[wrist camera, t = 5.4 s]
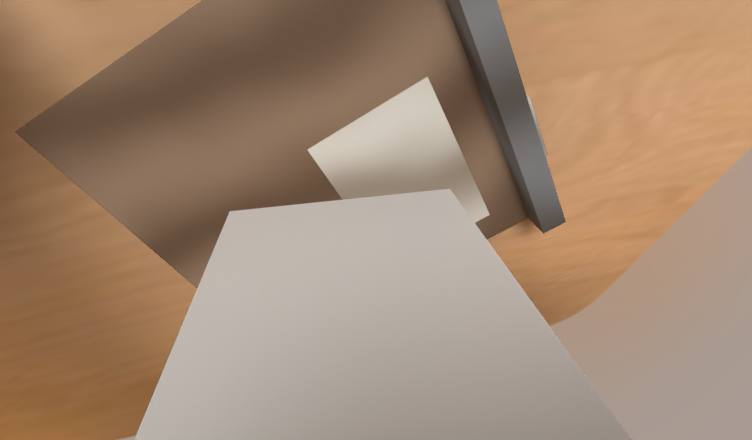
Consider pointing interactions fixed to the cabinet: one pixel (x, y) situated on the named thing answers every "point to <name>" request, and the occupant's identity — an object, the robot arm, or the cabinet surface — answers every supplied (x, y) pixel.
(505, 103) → the shelf board
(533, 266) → the cabinet surface
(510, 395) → the carton
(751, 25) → the cabinet surface
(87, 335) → the cabinet surface
